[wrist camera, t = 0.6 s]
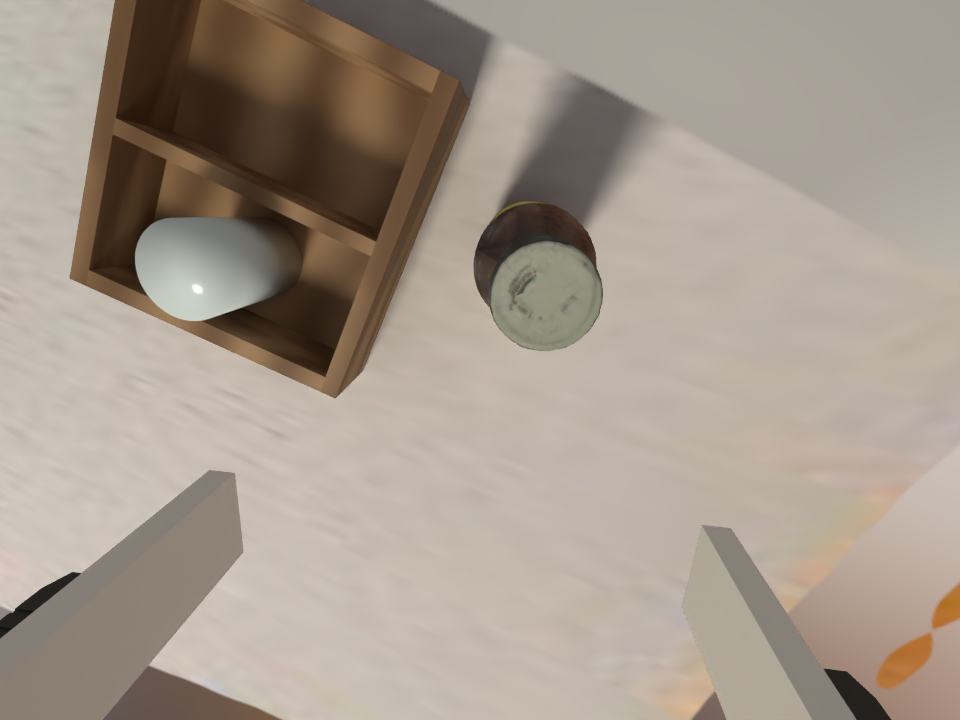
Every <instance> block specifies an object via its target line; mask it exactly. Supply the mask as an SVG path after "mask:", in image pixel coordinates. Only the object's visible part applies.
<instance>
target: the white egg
mask: <svg viewBox="0 0 960 720" xmlns="http://www.w3.org/2000/svg"><path fill="white" fill-rule="evenodd" d="M135 265H136V271H137V275H138V278H139V281H140V283H141V285H142V287H143V289H144V290H145V292H146V294H147V295H148V296H149V298H150V299H151V300H152V301H153V302H154V303H155V304H156V305H157V306H158V307H159V308H161V309H162V310H163V311H165V312H166V313H168V314H170V315H172V316H174V317H176V318H179V319H183V320H187V321H202V320H206V319H210V318H213V317H216V316H219V315H221V314H224V313H227V312H230V311H233V310H236V309H239V308H242V307H245V306H248V305H251V304H254V303H257V302H260V301H263V300H266V299H269V298H272V297H275V296H278V295H280V294H283V293H285V292H287V291H288V290H290V289H291V288H292V287H293V286H294V285H295V284H296V282H297V281H298V279H299V277H300V274H301V270H302V254H301V250H300V247H299V245H298V242H297V241H296V239H295V237H294V236H293V234H292V233H291V232H290V231H289V230H288V229H287V228H286V227H285V226H284V225H282V224H281V223H279V222H277V221H275V220H273V219H270V218H266V217H190V218H166V219H162V220H159V221H157V222H155V223H153V224H152V225H150V226H149V227H148V228H147V229H146V230H145V231H144V232H143V234H142V235H141V237H140V239H139V241H138V243H137V247H136V252H135Z"/></svg>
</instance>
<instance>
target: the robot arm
mask: <svg viewBox="0 0 960 720" xmlns="http://www.w3.org/2000/svg"><path fill="white" fill-rule="evenodd" d="M242 553H243V543H242V534H241V525H240V516H239V507H238V497H237V488H236V479H235V473H230V472H221V471H212V470H209V471H208V472H207V473H206V474H204V475H203V476H202V477H201V478H199V479H198V480H197V481H196V482H194V483H193V484H192V485H191V486H189V487H188V488H187V489H186V490H184V491H183V492H182V493H181V494H179V495H178V496H177V497H176V498H174V499H173V500H172V501H171V502H169V503H168V504H167V505H166V506H165V507H163V508H162V509H161V510H160V511H158V512H157V513H156V514H155V515H153V516H152V517H151V518H150V519H148V520H147V521H146V522H145V523H143V524H142V525H141V526H140V527H138V528H137V529H136V530H135V531H133V532H132V533H131V534H130V535H128V536H127V537H126V538H125V539H124V540H122V541H121V542H120V543H119V544H117V545H116V546H115V547H114V548H112V549H111V550H110V551H109V552H107V553H106V554H105V555H104V556H102V557H101V558H100V559H99V560H97V561H96V562H95V563H94V564H92V565H91V566H90V567H89V568H87V569H86V570H85V571H84V572H83V573H75V572H72V573H70V574H68V575H66V576H64V577H62V578H60V579H58V580H57V581H55V582H53V583H51V584H49V585H47V586H45V587H43V588H41V589H40V590H39V591H37V592H36V593H35V594H34V595H32V596H31V597H30V598H28V599H27V600H26V601H24V602H23V603H22V604H21V605H19V606H18V607H17V608H15V611H14V612H13V613H9V614H8V615H6V616H5V617H4V618H2V619H1V620H0V720H102V719H103V718H104V717H105V716H106V715H107V714H108V712H109V711H110V710H111V709H112V708H113V706H114V705H115V704H116V703H117V702H118V700H119V699H120V698H121V697H122V696H123V695H124V693H125V692H126V691H127V690H128V689H129V688H130V686H131V685H132V684H133V683H134V682H135V680H136V679H137V678H138V677H139V676H140V674H141V673H142V672H143V671H144V670H145V668H146V667H147V666H148V665H149V664H150V663H151V661H152V660H153V659H154V658H155V657H156V655H157V654H158V653H159V652H160V651H161V649H162V648H163V647H164V646H165V645H166V643H167V642H168V641H169V640H170V639H171V638H172V636H173V635H174V634H175V633H176V632H177V630H178V629H179V628H180V627H181V626H182V624H183V623H184V622H185V621H186V620H187V618H188V617H189V616H190V615H191V614H192V613H193V611H194V610H195V609H196V608H197V607H198V605H199V604H200V603H201V602H202V601H203V599H204V598H205V597H206V596H207V595H208V593H209V592H210V591H211V590H212V589H213V588H214V586H215V585H216V584H217V583H218V582H219V580H220V579H221V578H222V577H223V576H224V574H225V573H226V572H227V571H228V570H229V568H230V567H231V566H232V565H233V564H234V563H235V561H236V560H237V559H238V558H239V557H240V555H241V554H242ZM682 608H683V611H684V614H685V616H686V619H687V621H688V624H689V626H690V629H691V631H692V634H693V636H694V639H695V641H696V644H697V646H698V649H699V651H700V654H701V656H702V659H703V661H704V664H705V666H706V669H707V671H708V674H709V676H710V679H711V681H712V684H713V686H714V689H715V691H716V694H717V696H718V699H719V701H720V704H721V706H722V708H723V711H724V714H725V716H726V719H727V720H891V719H890V717H889V716H888V715H887V713H886V712H885V710H884V709H883V708H882V706H881V705H880V703H879V702H878V701H877V699H876V698H875V697H874V696H873V695H872V694H870V693H869V692H868V691H867V690H866V689H865V688H864V687H863V686H862V685H861V684H859V682H857V681H856V680H855V679H854V678H853V677H852V676H851V675H850V674H849V673H848V672H846V671H838V670H830V669H823V668H822V666H821V665H820V663H819V662H818V660H817V659H816V657H815V656H814V654H813V653H812V651H811V649H810V648H809V646H808V645H807V643H806V642H805V640H804V639H803V638H802V636H801V634H800V633H799V631H798V630H797V628H796V627H795V625H794V624H793V622H792V621H791V619H790V618H789V616H788V614H787V613H786V611H785V610H784V608H783V607H782V605H781V604H780V602H779V601H778V599H777V598H776V596H775V595H774V593H773V592H772V590H771V589H770V587H769V586H768V584H767V582H766V581H765V579H764V578H763V576H762V575H761V573H760V572H759V570H758V569H757V567H756V566H755V564H754V563H753V561H752V560H751V558H750V557H749V555H748V554H747V552H746V550H745V549H744V547H743V546H742V544H741V543H740V541H739V540H738V538H737V537H736V535H735V534H734V532H733V531H732V529H731V528H723V527H714V526H705V525H702V526H701V530H700V534H699V538H698V542H697V546H696V550H695V554H694V558H693V562H692V566H691V570H690V574H689V578H688V582H687V586H686V590H685V594H684V598H683V602H682Z"/></svg>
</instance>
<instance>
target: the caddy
mask: <svg viewBox="0 0 960 720" xmlns="http://www.w3.org/2000/svg"><path fill="white" fill-rule="evenodd" d="M469 105H470V103H469V101H468V99H467V97H466V94H465V92H464V90H463V88H462V85H461V83H460V81H459V80H457V79H455V78H454V77H452V76H450V75H448V74H446V73H444V72H442V71H440V70H438V69H436V68H434V67H432V66H430V65H428V64H426V63H424V62H422V61H420V60H418V59H416V58H414V57H412V56H410V55H408V54H406V53H404V52H402V51H400V50H398V49H396V48H394V47H392V46H390V45H388V44H386V43H384V42H382V41H380V40H378V39H376V38H374V37H372V36H370V35H368V34H366V33H364V32H362V31H360V30H358V29H356V28H354V27H352V26H350V25H348V24H346V23H344V22H342V21H340V20H338V19H336V18H334V17H332V16H330V15H328V14H326V13H324V12H322V11H320V10H318V9H316V8H314V7H312V6H310V5H308V4H306V3H304V2H302V1H300V0H115V3H114V10H113V16H112V22H111V28H110V34H109V40H108V46H107V52H106V59H105V65H104V71H103V77H102V83H101V89H100V95H99V101H98V108H97V114H96V120H95V126H94V132H93V138H92V144H91V150H90V157H89V163H88V169H87V175H86V181H85V187H84V193H83V199H82V206H81V212H80V218H79V224H78V230H77V236H76V242H75V248H74V255H73V261H72V267H71V273H70V279H72V280H74V281H77V282H79V283H81V284H83V285H85V286H88V287H90V288H92V289H94V290H97V291H99V292H101V293H103V294H105V295H108V296H110V297H112V298H114V299H116V300H119V301H121V302H123V303H125V304H127V305H130V306H132V307H134V308H136V309H139V310H141V311H143V312H145V313H147V314H150V315H152V316H154V317H156V318H158V319H161V320H163V321H165V322H167V323H170V324H172V325H174V326H176V327H178V328H181V329H183V330H185V331H187V332H189V333H192V334H194V335H196V336H198V337H201V338H203V339H205V340H207V341H209V342H212V343H214V344H216V345H218V346H220V347H223V348H225V349H227V350H229V351H231V352H234V353H236V354H238V355H240V356H243V357H245V358H247V359H249V360H251V361H254V362H256V363H258V364H260V365H262V366H265V367H267V368H269V369H271V370H274V371H276V372H278V373H280V374H282V375H285V376H287V377H289V378H291V379H293V380H296V381H298V382H300V383H302V384H304V385H307V386H309V387H311V388H313V389H316V390H318V391H320V392H322V393H324V394H327V395H329V396H331V397H333V398H336V397H337V396H338V395H339V394H340V393H341V392H342V391H343V390H344V389H345V388H346V387H347V386H348V385H349V384H350V383H351V382H352V381H353V380H354V379H355V378H356V377H357V376H358V375H359V374H360V373H361V372H362V371H363V368H364V366H365V363H366V361H367V358H368V356H369V353H370V351H371V348H372V346H373V343H374V341H375V339H376V336H377V334H378V331H379V329H380V326H381V324H382V321H383V319H384V316H385V314H386V311H387V309H388V306H389V304H390V301H391V299H392V296H393V294H394V291H395V289H396V286H397V284H398V281H399V279H400V276H401V274H402V271H403V269H404V266H405V264H406V261H407V259H408V256H409V254H410V251H411V249H412V246H413V244H414V241H415V239H416V236H417V234H418V231H419V229H420V227H421V224H422V222H423V219H424V217H425V214H426V212H427V209H428V207H429V204H430V202H431V199H432V197H433V194H434V192H435V189H436V187H437V184H438V182H439V179H440V177H441V174H442V172H443V169H444V167H445V164H446V162H447V159H448V157H449V154H450V152H451V149H452V147H453V144H454V142H455V139H456V137H457V134H458V132H459V129H460V127H461V124H462V122H463V119H464V117H465V115H466V112H467V110H468V107H469ZM190 217H266V218H270V219H273V220H275V221H277V222H279V223H281V224H282V225H284V226H285V227H286V228H287V229H288V230H289V231H290V232H291V233H292V234H293V236H294V237H295V239H296V241H297V242H298V245H299V247H300V250H301V254H302V270H301V274H300V277H299V279H298V281H297V282H296V284H295V285H294V286H293V287H292V288H291V289H290V290H288V291H287V292H285V293H283V294H280V295H278V296H275V297H272V298H269V299H266V300H263V301H260V302H257V303H254V304H251V305H248V306H245V307H242V308H239V309H236V310H233V311H230V312H227V313H224V314H221V315H219V316H216V317H213V318H210V319H206V320H202V321H187V320H183V319H179V318H176V317H174V316H172V315H170V314H168V313H166V312H165V311H163V310H162V309H161V308H159V307H158V306H157V305H156V304H155V303H154V302H153V301H152V300H151V299H150V298H149V296H148V295H147V294H146V292H145V290H144V289H143V287H142V285H141V283H140V281H139V278H138V275H137V271H136V265H135V252H136V247H137V243H138V241H139V239H140V237H141V235H142V234H143V232H144V231H145V230H146V229H147V228H148V227H149V226H150V225H152V224H153V223H155V222H157V221H159V220H162V219H166V218H190Z"/></svg>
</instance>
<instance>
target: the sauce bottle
mask: <svg viewBox="0 0 960 720" xmlns="http://www.w3.org/2000/svg"><path fill="white" fill-rule="evenodd" d="M596 267H597V266H596V252H595V249H594V246H593V243H592V241H591V238H590V237H589V234H588V232H587V231H586V230H585V229H584V228H583V226H582V225H581V224H580V223H579V222H578V221H577V220H576V219H575V218H574V217H572V216H571V215H570V214H569V213H567V212H566V211H564V210H563V209H560V208H558V207H556V206H553V205H550V204H546V203H541V202H535V201H522V202H517V203H515V204H512V205H509V206H507V207H505V208H504V209H503V210H501V211H500V212H499V213H498V214H497V215H496V216H495V217H494V218H493V219H492V221H491V222H490V223H489V225H488V226H487V228H486V229H485V230H484V232H483V234H482V235H481V238H480V240H479V242H478V245H477V248H476V251H475V257H474V276H475V282H476V285H477V288H478V291H479V293H480V295H481V297H482V298H483V300H484V301H485V303H486V304H487V305H488V306H489V307H490V310H491V313H492V316H493V319H494V321H495V323H496V324H497V326H498V328H499V329H500V330H501V331H502V332H503V333H504V334H505V336H507V337H508V338H509V339H510V340H512V341H513V342H515V343H517V344H518V345H519V346H521V347H524V348H527V349H532V350H539V351H552V350H555V349H562V348H565V347H567V346H569V345H571V344H573V343H575V342H576V341H578V340H579V339H581V338H582V337H583V336H584V335H585V334H586V333H587V332H588V331H589V330H590V329H591V327H592V326H593V324H594V322H595V321H596V319H597V318H598V316H599V313H600V308H601V305H602V298H603V288H602V282H601V278H600V275H599V273H598V270H597V269H596Z"/></svg>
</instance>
